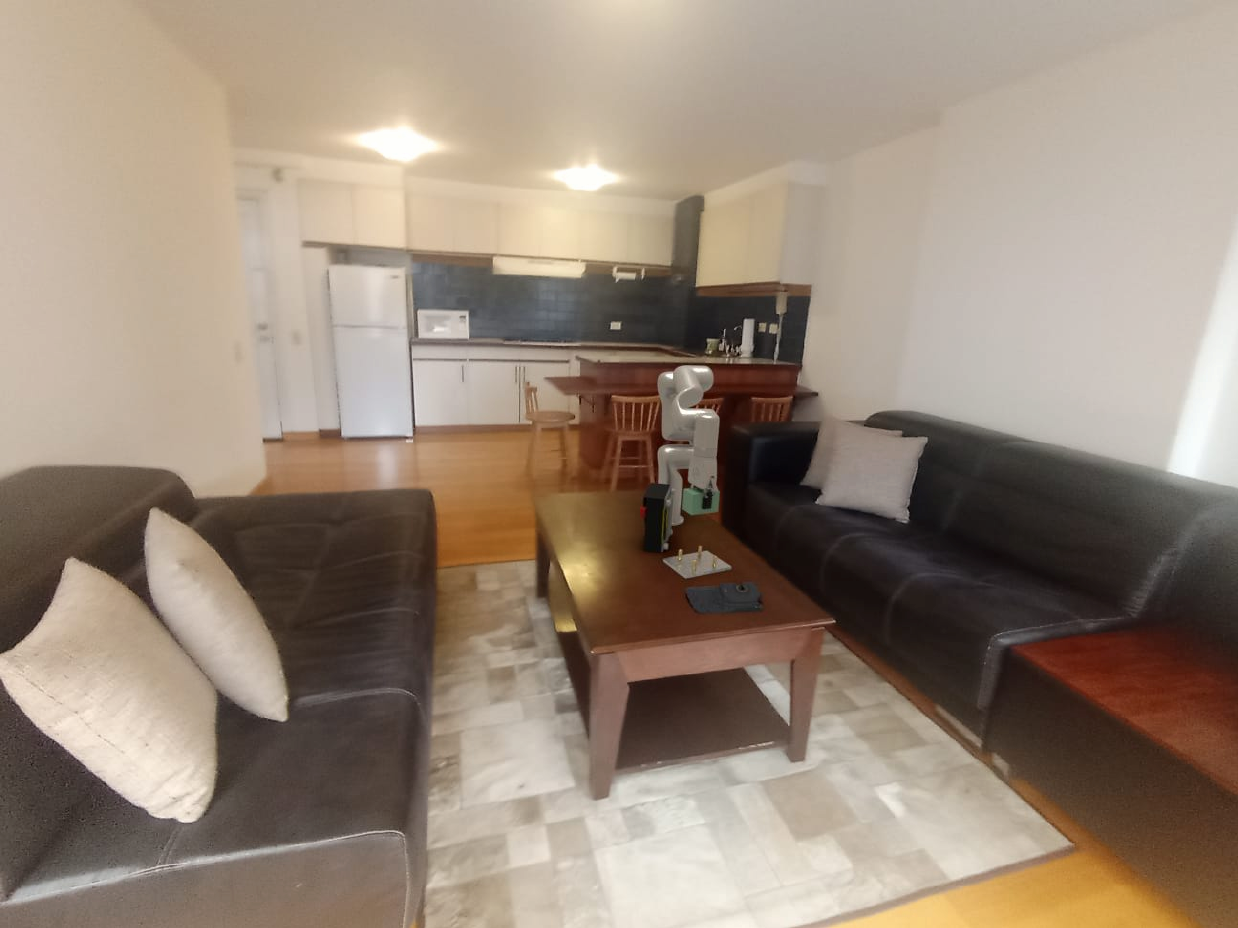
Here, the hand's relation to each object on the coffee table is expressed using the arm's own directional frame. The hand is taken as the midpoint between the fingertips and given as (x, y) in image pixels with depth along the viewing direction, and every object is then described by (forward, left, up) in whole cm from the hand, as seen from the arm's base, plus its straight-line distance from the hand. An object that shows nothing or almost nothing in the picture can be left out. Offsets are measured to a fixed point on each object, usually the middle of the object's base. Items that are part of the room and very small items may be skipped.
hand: (700, 504), depth 188 cm
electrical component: (-22, -3, -22) cm, 31 cm away
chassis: (0, 0, -21) cm, 21 cm away
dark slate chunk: (+23, -6, -22) cm, 33 cm away
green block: (0, 0, -2) cm, 2 cm away
